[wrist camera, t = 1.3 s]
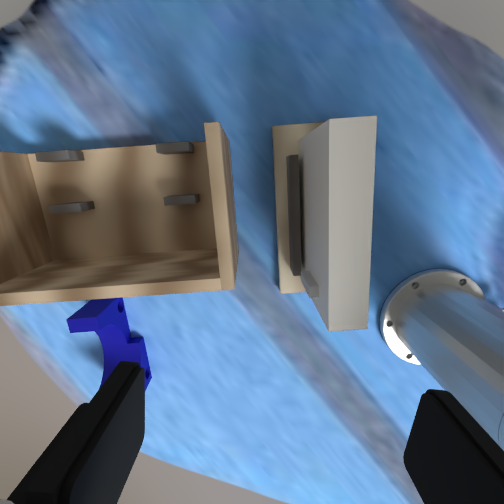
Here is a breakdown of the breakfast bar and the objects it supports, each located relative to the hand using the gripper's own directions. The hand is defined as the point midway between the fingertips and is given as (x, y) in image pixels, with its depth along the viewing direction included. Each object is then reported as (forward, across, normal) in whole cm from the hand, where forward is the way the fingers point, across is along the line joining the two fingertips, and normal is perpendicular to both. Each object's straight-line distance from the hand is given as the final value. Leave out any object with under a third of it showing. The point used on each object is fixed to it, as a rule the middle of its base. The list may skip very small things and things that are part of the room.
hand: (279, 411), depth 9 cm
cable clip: (+24, +16, +14) cm, 32 cm away
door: (+23, -5, -4) cm, 24 cm away
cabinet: (+23, +14, -3) cm, 27 cm away
